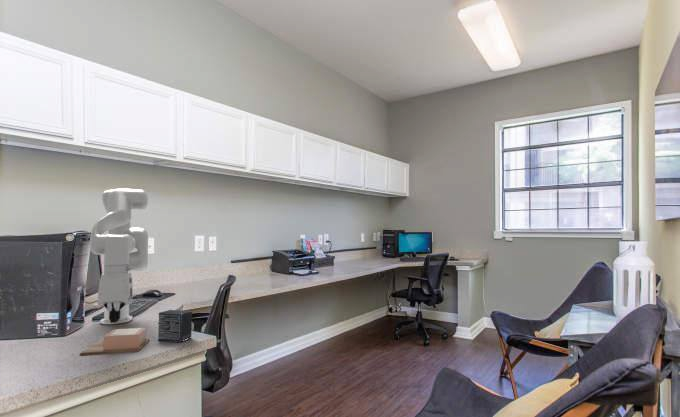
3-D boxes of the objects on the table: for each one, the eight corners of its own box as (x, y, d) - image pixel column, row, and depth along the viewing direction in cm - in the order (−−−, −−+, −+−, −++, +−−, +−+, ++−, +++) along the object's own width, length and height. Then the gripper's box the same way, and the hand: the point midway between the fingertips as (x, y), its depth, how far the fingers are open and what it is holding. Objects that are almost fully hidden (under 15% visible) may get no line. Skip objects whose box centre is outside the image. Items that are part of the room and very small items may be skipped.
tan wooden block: (113, 329, 133) (146, 327, 136) (113, 341, 133) (146, 339, 135) (103, 336, 124) (138, 334, 127) (103, 349, 124) (138, 347, 126)
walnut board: (95, 344, 133) (95, 341, 133) (149, 340, 137) (149, 338, 137) (79, 355, 121) (80, 352, 121) (139, 351, 125) (139, 348, 125)
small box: (192, 338, 140) (193, 310, 141) (180, 343, 134) (181, 314, 135) (169, 335, 143) (170, 308, 144) (157, 340, 137) (157, 312, 138)
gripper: (142, 268, 136) (140, 318, 134) (97, 269, 132) (95, 320, 131) (135, 270, 128) (134, 323, 127) (87, 271, 125) (85, 325, 124)
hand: (114, 321), depth 129 cm, fingers closed
